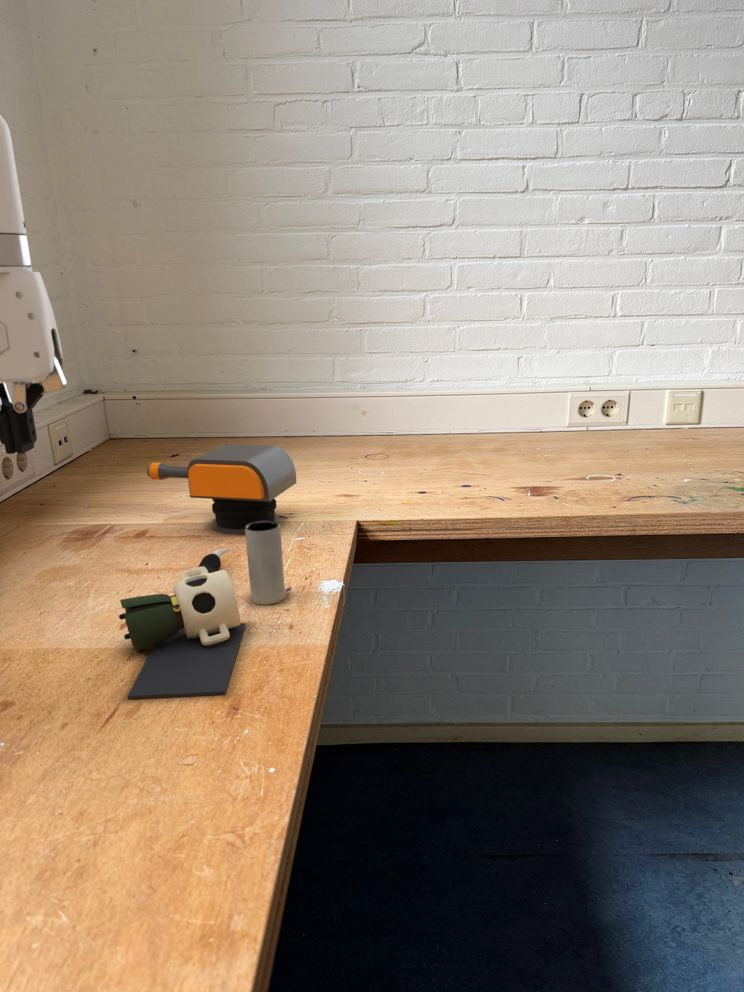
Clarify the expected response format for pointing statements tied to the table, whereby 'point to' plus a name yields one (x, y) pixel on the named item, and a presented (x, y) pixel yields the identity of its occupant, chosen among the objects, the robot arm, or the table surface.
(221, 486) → the toy turret
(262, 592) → the grey hollow cylinder
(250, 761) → the table surface
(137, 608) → the character mug
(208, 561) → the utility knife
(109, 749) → the table surface
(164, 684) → the mat
